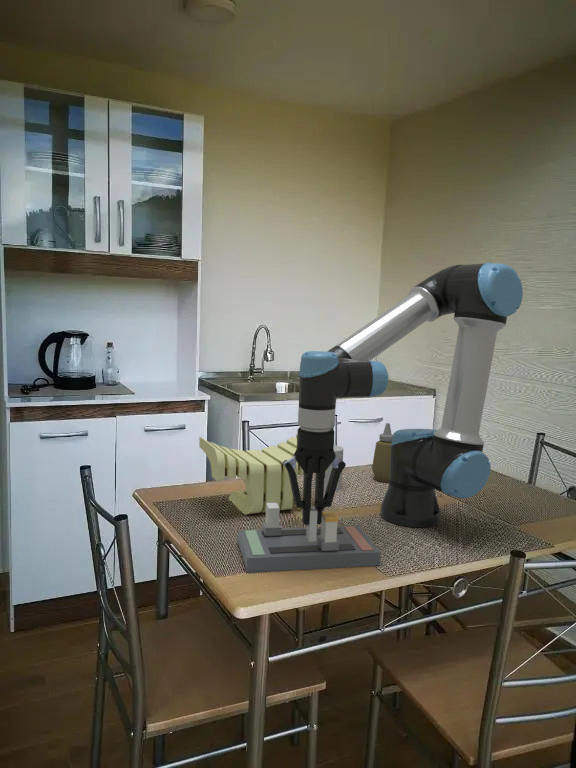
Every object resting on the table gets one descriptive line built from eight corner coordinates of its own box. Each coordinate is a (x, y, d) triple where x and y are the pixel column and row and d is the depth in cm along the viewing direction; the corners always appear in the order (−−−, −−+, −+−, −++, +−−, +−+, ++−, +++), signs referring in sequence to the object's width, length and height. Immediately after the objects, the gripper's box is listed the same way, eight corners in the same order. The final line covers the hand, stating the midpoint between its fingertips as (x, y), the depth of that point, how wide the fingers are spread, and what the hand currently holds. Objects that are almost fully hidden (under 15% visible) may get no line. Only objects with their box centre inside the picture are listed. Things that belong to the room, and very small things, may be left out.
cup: (324, 481, 183) (326, 443, 181) (346, 487, 178) (348, 448, 176) (308, 487, 177) (310, 447, 175) (330, 493, 172) (332, 452, 170)
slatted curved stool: (216, 522, 146) (217, 451, 144) (198, 501, 160) (199, 436, 158) (325, 509, 158) (328, 443, 156) (299, 491, 173) (302, 430, 170)
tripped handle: (333, 543, 128) (335, 511, 127) (338, 550, 124) (340, 517, 123) (317, 543, 127) (319, 512, 126) (321, 551, 123) (323, 518, 123)
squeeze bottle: (367, 480, 186) (370, 423, 183) (377, 474, 193) (380, 419, 190) (391, 485, 182) (395, 427, 179) (401, 479, 189) (405, 423, 186)
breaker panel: (357, 537, 140) (359, 498, 139) (379, 565, 125) (382, 522, 124) (238, 542, 134) (239, 501, 133) (246, 572, 120) (248, 526, 118)
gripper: (341, 423, 126) (336, 530, 130) (281, 424, 124) (277, 533, 127) (352, 431, 119) (346, 544, 122) (288, 432, 117) (283, 547, 120)
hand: (311, 538), depth 125 cm, fingers closed
